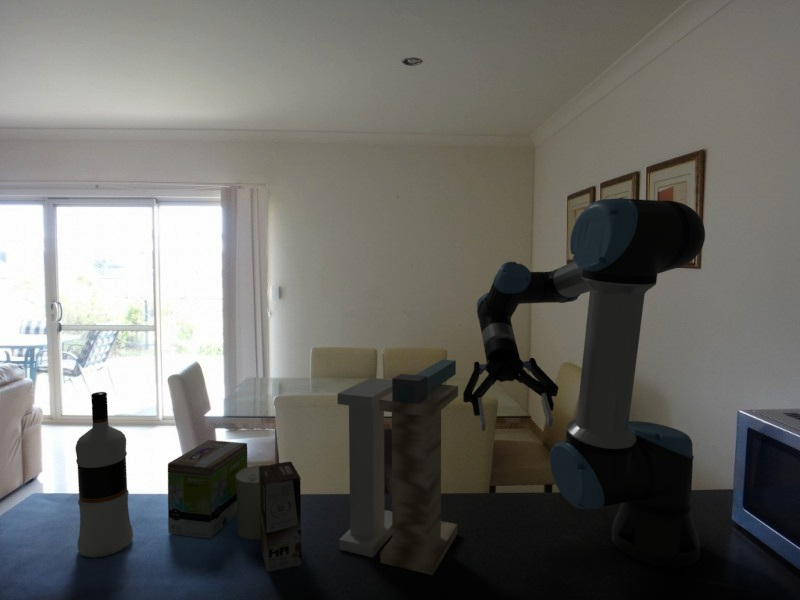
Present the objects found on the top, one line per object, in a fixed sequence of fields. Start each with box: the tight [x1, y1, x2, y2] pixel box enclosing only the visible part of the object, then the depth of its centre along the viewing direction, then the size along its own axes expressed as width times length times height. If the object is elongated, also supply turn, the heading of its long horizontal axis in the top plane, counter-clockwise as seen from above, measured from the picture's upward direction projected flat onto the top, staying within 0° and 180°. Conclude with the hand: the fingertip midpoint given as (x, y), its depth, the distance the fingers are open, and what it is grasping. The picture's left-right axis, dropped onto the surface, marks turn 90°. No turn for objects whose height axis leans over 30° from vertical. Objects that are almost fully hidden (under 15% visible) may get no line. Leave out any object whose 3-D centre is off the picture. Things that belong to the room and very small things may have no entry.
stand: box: [336, 377, 392, 558], centre depth 104 cm, size 7×14×30 cm, turn 157°
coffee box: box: [259, 461, 302, 573], centre depth 97 cm, size 9×6×16 cm
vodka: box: [74, 391, 134, 559], centre depth 100 cm, size 9×9×30 cm
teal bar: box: [391, 359, 457, 404], centre depth 103 cm, size 5×25×4 cm, turn 157°
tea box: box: [167, 439, 249, 539], centre depth 111 cm, size 15×10×15 cm
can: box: [236, 464, 268, 540], centre depth 108 cm, size 9×9×12 cm
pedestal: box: [379, 383, 459, 576], centre depth 99 cm, size 10×15×30 cm, turn 157°
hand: (516, 425), depth 108 cm, fingers open, 13 cm apart
